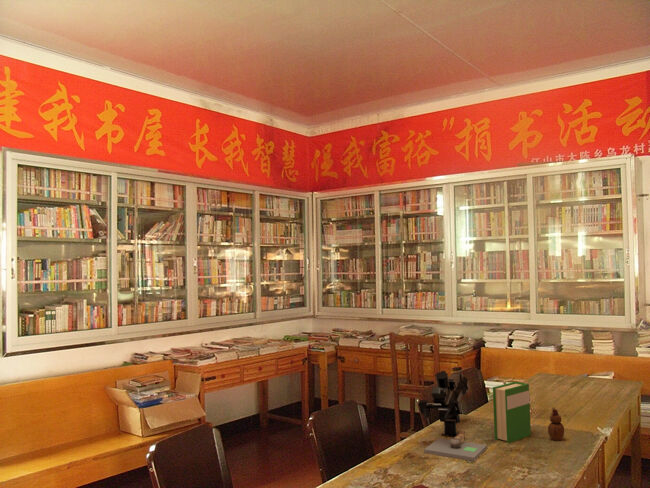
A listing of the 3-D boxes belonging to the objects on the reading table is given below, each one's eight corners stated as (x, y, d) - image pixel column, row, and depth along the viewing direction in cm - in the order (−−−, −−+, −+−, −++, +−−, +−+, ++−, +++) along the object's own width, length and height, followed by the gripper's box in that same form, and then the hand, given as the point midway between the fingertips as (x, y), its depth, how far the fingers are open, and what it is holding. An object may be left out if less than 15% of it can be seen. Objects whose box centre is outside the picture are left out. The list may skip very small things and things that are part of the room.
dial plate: (439, 441, 258) (439, 437, 258) (486, 448, 246) (486, 444, 246) (424, 452, 243) (424, 449, 243) (474, 461, 231) (474, 457, 231)
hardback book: (508, 443, 252) (506, 389, 253) (494, 439, 258) (492, 387, 259) (530, 435, 263) (528, 383, 264) (517, 431, 269) (514, 381, 270)
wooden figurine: (554, 442, 252) (552, 408, 253) (546, 438, 258) (544, 405, 258) (567, 440, 254) (565, 407, 255) (558, 436, 260) (557, 404, 260)
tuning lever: (458, 448, 241) (458, 438, 242) (449, 446, 244) (448, 437, 244) (467, 440, 251) (467, 431, 252) (458, 439, 254) (457, 430, 254)
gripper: (419, 382, 261) (410, 403, 249) (458, 382, 252) (451, 404, 239) (425, 402, 265) (416, 424, 252) (464, 402, 255) (457, 425, 243)
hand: (435, 419), depth 246 cm, fingers open, 9 cm apart
